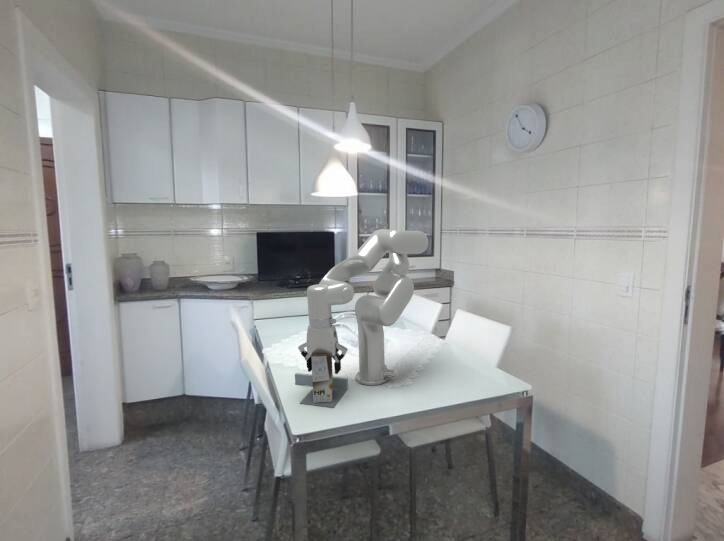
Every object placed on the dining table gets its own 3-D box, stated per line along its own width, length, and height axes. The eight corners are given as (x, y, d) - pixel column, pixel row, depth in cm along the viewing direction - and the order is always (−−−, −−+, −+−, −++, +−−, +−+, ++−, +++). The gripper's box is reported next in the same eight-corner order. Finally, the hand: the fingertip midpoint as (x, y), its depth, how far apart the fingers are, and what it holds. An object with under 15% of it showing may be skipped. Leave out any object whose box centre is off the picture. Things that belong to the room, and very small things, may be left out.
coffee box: (332, 402, 126) (330, 355, 124) (313, 403, 126) (310, 356, 124) (333, 389, 136) (331, 345, 133) (315, 390, 135) (313, 346, 133)
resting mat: (346, 391, 135) (346, 390, 135) (333, 408, 123) (333, 406, 123) (314, 387, 138) (314, 386, 138) (299, 403, 127) (299, 402, 127)
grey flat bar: (348, 388, 137) (347, 378, 136) (346, 390, 136) (346, 379, 135) (296, 383, 143) (296, 372, 142) (295, 384, 141) (294, 374, 141)
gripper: (349, 319, 128) (351, 368, 131) (301, 317, 133) (305, 364, 136) (341, 326, 121) (344, 378, 124) (291, 324, 126) (295, 373, 129)
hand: (324, 371), depth 130 cm, fingers open, 9 cm apart
